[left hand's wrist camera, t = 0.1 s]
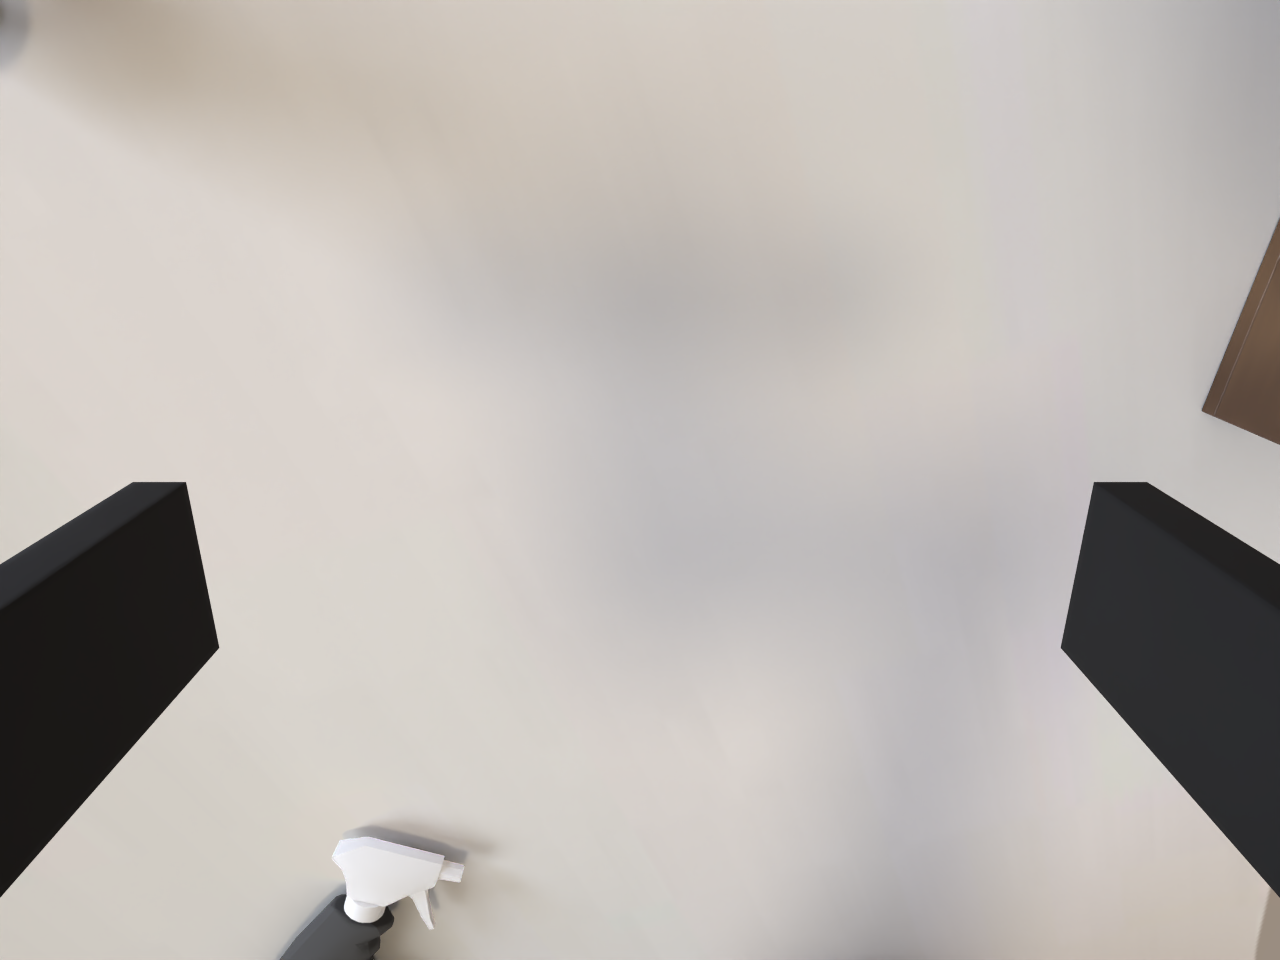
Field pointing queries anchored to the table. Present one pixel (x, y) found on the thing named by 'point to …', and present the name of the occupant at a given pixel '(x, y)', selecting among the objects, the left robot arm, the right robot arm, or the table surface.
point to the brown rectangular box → (1253, 358)
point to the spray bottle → (371, 898)
